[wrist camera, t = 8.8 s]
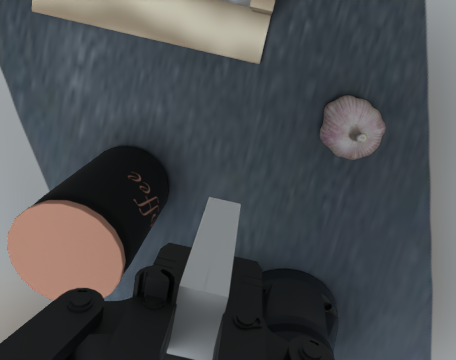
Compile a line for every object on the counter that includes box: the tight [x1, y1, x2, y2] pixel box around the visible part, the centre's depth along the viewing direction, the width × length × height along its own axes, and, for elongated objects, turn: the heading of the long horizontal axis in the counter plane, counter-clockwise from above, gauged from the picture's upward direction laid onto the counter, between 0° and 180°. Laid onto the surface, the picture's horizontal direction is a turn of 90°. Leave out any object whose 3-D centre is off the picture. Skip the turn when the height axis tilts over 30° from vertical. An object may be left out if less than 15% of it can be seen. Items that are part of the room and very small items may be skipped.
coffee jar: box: [7, 147, 169, 300], centre depth 41 cm, size 11×11×18 cm
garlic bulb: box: [320, 95, 386, 160], centre depth 40 cm, size 8×7×8 cm
